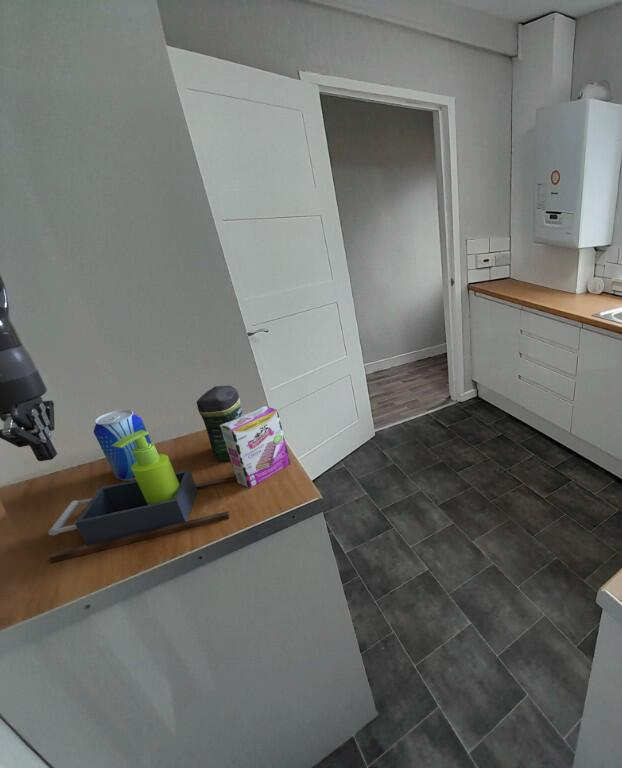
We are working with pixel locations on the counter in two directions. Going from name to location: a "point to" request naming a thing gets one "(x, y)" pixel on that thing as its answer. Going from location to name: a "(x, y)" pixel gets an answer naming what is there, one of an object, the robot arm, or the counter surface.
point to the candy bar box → (256, 446)
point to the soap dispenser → (151, 469)
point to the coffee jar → (219, 416)
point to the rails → (149, 533)
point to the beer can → (115, 429)
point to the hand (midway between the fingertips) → (48, 458)
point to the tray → (127, 511)
